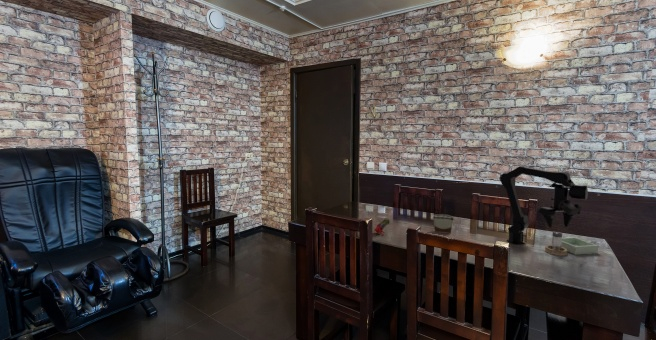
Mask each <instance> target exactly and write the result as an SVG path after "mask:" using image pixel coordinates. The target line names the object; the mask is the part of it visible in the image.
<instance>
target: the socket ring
mask: <svg viewBox="0 0 656 340" xmlns="http://www.w3.org/2000/svg"><path fill="white" fill-rule="evenodd" d="M551 246H552V244H548V245H545V249H544V251H545V252H546V253H549V254H550V255H556V256H567V255H568V251H567V249H566V248H563V247H561V251H558V250H552V249H551Z"/></svg>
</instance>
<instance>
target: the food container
mask: <svg viewBox="0 0 656 340" xmlns="http://www.w3.org/2000/svg"><path fill="white" fill-rule="evenodd" d="M432 219H433V226H434V233H444V234H451V233H452V230H453V229H452V228H453V223H454V221H455V219H454V217H453V216H452V215H449V214H443V213H439V214H438V213H437V214H434V215H433V217H432Z"/></svg>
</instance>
